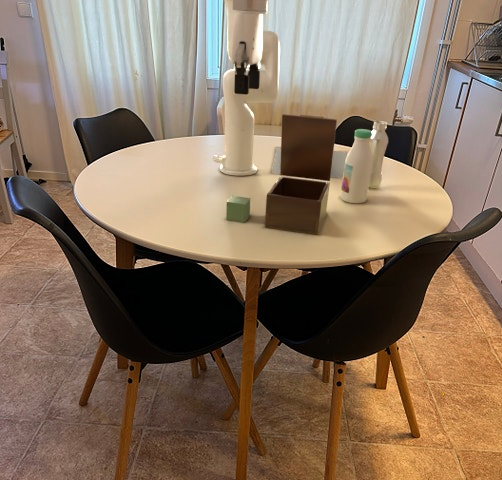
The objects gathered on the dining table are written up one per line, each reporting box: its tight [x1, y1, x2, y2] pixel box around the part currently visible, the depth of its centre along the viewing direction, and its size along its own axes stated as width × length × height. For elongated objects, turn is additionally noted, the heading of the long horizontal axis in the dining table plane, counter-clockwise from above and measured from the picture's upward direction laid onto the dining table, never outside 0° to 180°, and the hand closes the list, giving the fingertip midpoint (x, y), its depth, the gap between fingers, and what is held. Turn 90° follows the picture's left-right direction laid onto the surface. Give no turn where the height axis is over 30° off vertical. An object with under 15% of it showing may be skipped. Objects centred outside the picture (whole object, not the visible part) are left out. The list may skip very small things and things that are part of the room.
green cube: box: [225, 195, 251, 223], centre depth 125 cm, size 5×5×5 cm
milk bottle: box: [340, 128, 373, 204], centre depth 137 cm, size 8×8×20 cm
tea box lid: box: [279, 113, 338, 182], centre depth 125 cm, size 16×14×6 cm
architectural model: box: [270, 146, 349, 179], centre depth 172 cm, size 35×28×14 cm
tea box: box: [264, 175, 331, 236], centre depth 125 cm, size 16×14×9 cm
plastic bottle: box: [369, 120, 389, 189], centre depth 148 cm, size 6×7×20 cm
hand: (247, 91), depth 111 cm, fingers open, 9 cm apart
